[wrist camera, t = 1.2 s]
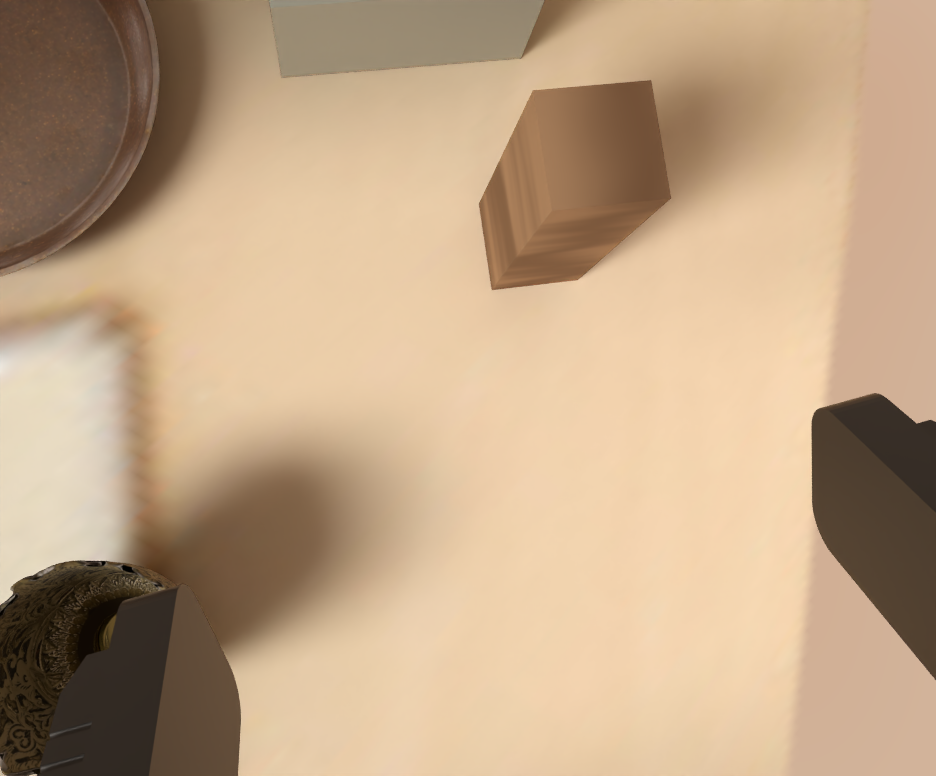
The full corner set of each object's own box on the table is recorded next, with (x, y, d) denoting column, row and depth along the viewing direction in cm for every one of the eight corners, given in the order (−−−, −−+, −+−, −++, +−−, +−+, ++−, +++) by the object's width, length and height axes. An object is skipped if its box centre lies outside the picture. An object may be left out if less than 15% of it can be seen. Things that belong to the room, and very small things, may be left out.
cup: (137, 506, 37) (81, 513, 30) (267, 626, 38) (246, 664, 30) (2, 644, 36) (-94, 690, 28) (138, 767, 36) (79, 846, 29)
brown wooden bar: (491, 290, 40) (551, 210, 29) (479, 204, 41) (532, 90, 29) (577, 279, 41) (670, 198, 29) (564, 195, 41) (651, 80, 30)
